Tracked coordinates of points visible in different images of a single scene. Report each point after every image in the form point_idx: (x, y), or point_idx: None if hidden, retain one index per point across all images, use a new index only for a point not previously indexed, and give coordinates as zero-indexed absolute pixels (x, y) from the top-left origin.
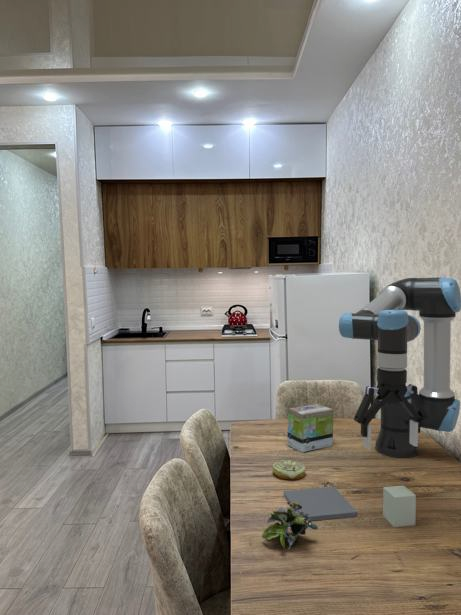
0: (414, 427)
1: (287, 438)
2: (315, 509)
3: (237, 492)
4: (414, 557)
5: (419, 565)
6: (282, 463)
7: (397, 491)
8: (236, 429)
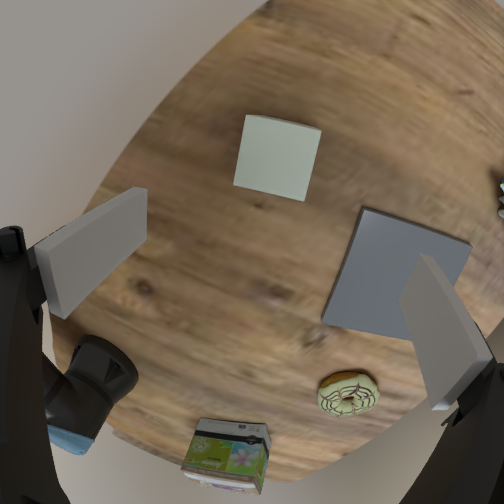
0: (77, 244)
1: (269, 451)
2: None
3: None
4: (361, 24)
5: (370, 5)
6: (356, 408)
7: (282, 159)
8: (303, 476)
